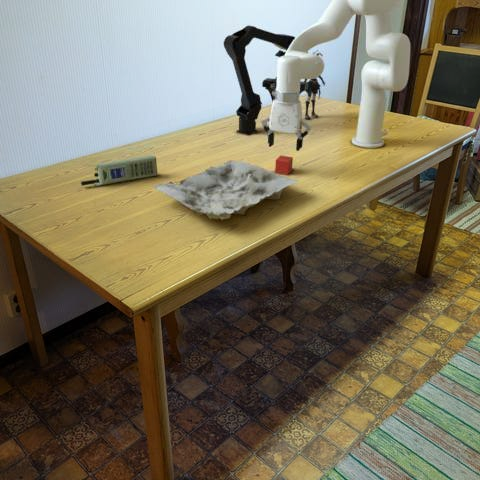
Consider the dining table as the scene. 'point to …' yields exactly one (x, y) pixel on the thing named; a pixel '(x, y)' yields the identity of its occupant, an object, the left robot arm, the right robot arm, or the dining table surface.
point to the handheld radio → (124, 170)
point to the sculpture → (227, 189)
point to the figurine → (313, 92)
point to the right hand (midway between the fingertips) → (284, 147)
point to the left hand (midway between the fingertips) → (283, 105)
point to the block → (284, 165)
